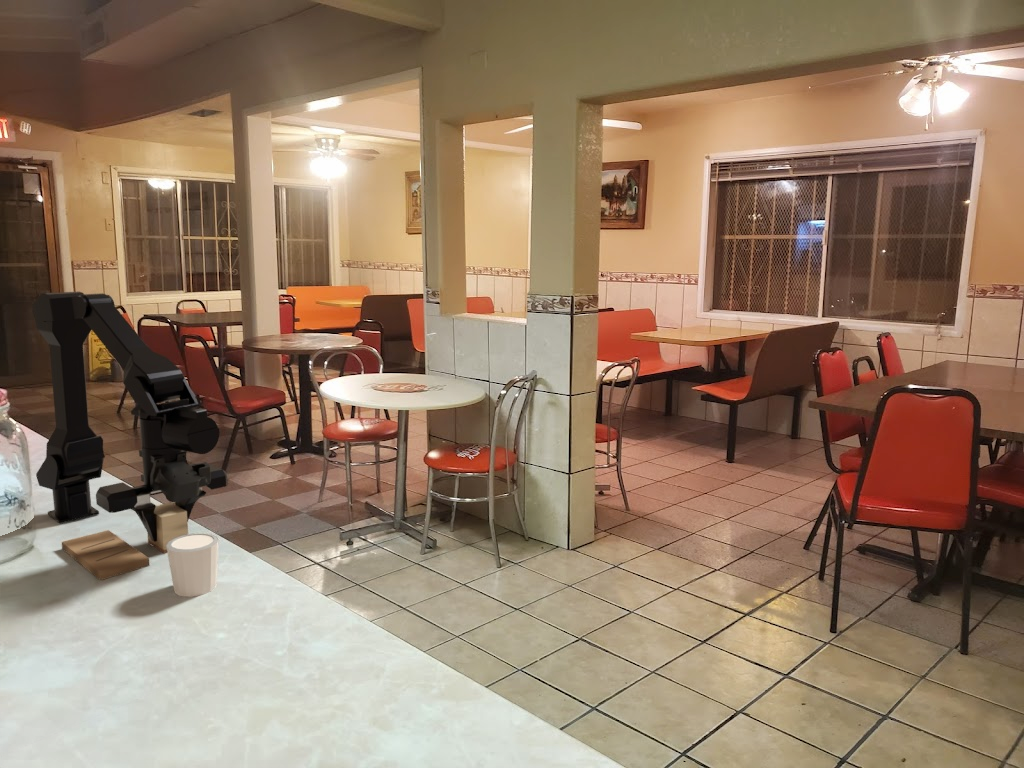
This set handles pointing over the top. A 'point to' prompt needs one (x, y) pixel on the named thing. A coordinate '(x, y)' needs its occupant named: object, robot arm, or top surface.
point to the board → (105, 554)
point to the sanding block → (168, 525)
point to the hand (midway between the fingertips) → (168, 537)
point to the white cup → (193, 563)
